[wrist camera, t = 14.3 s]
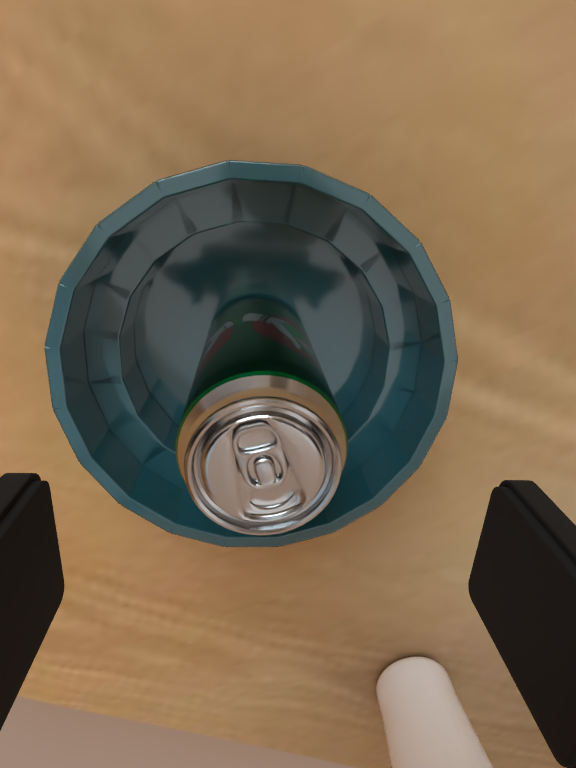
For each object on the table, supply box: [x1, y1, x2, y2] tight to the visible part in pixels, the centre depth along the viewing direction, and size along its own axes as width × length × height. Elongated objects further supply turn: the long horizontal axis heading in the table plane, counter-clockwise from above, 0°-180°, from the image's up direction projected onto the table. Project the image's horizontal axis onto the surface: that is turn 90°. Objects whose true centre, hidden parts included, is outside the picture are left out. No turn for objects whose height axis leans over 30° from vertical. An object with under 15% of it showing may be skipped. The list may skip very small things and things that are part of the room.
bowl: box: [45, 160, 458, 547], centre depth 22 cm, size 16×16×6 cm
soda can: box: [175, 298, 348, 535], centre depth 19 cm, size 5×5×12 cm
